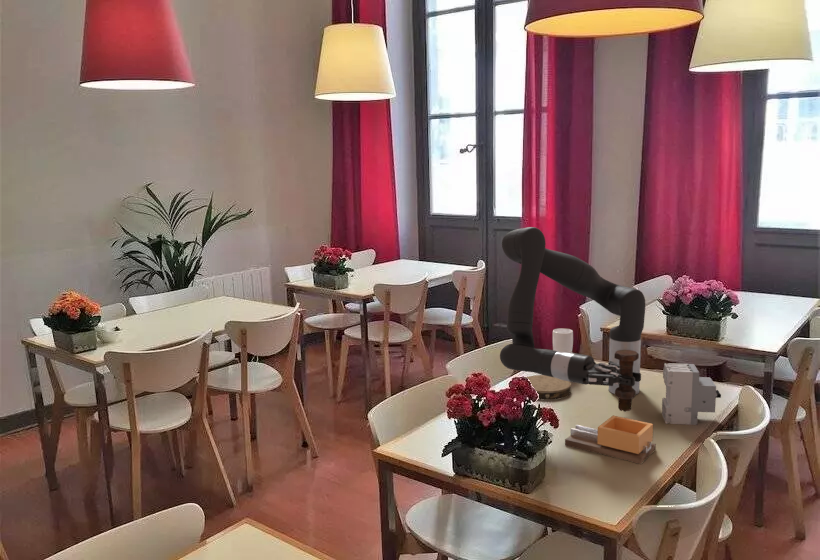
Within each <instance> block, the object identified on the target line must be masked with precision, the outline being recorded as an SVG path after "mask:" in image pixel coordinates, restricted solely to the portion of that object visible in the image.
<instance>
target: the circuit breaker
mask: <svg viewBox="0 0 820 560" xmlns="http://www.w3.org/2000/svg"><path fill="white" fill-rule="evenodd" d="M663 365H664V366H663V371H662V378H663V382H664V385H665V397H662V398H661V399H662V400H661V415H662V418H663V421H664V422H665V424H670V425H671V424H672V425H692V426H693V425H694V426H697V425H698V416H699V413H716V402H717V398H718V399H721V398H722V394H721V393H720V391H719V390H718V389H717V385H716V384H715V383H714V381H713V379H712V378H711V377H710V376H709V377H707V376H700V371H699V370H698V368H697V367H696V365H695V364H694V363H673V362H672V363H670V362H669V363H664V364H663Z"/></svg>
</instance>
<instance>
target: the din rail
mask: <svg viewBox="0 0 820 560" xmlns="http://www.w3.org/2000/svg"><path fill="white" fill-rule="evenodd" d="M570 435H572V436H576V437H580V438H584V439H588V440H592V441H596V442H598V428H592V427H589V426H585V425H579V424H575V428H572V427H571V428H570ZM651 443H652V442H650V441H648V442H647V446H646V445H644V446H643V450H642V451H641V452H642V453H647V452H648V451H649V450H650V449H651Z"/></svg>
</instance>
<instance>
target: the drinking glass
mask: <svg viewBox="0 0 820 560" xmlns="http://www.w3.org/2000/svg"><path fill="white" fill-rule="evenodd" d="M573 345H574V331H573V329H570V328H554V329H553V330H552V350H554V351H560V352H571V353H573V347H574V346H573Z"/></svg>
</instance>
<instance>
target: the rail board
mask: <svg viewBox="0 0 820 560" xmlns="http://www.w3.org/2000/svg"><path fill="white" fill-rule="evenodd" d="M597 443H598V442H596V441H592V440H588V439H584V438H580V437H576V436H572V435H571V434H570V435H569V436H568V437H567V438H565V439H564V445H565V446H568V447H573V448H575V449H576V448H577V449H580V450H584V451H588V452H592V453H596V454H599V455H603V454H604V456H607V455H608V456H607V457H611V456H612V458H615V457H616V459H619V458H620V459H619V460H623V459H624V460H623V461H627V460H628V461H627V462H631V461H632V463H636V464H640V465H641V463H642V462H643V461H644V460H645V459H646V458H647V457H648V456H649V455H650V456H651V455H652V454H653V453H654V452H655V451H656V450H657V449H656V448H657V446H656V445H657V444H656V443H654V442H653V443H652V442H651V449H650V450H649V451H648V452H647V453H642V452H640V453H639V454H636V453H632V452H628V451H624V450H620V449H616V448H612V447H608V446H603V445H599V444H597ZM653 451H654V452H653ZM652 452H653V453H652ZM650 456H649V457H650ZM649 457H648V458H649ZM648 458H647V459H648ZM647 459H646V460H647ZM646 460H645V461H646ZM645 461H644V462H645ZM644 462H643V463H644ZM643 463H642V464H643Z"/></svg>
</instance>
